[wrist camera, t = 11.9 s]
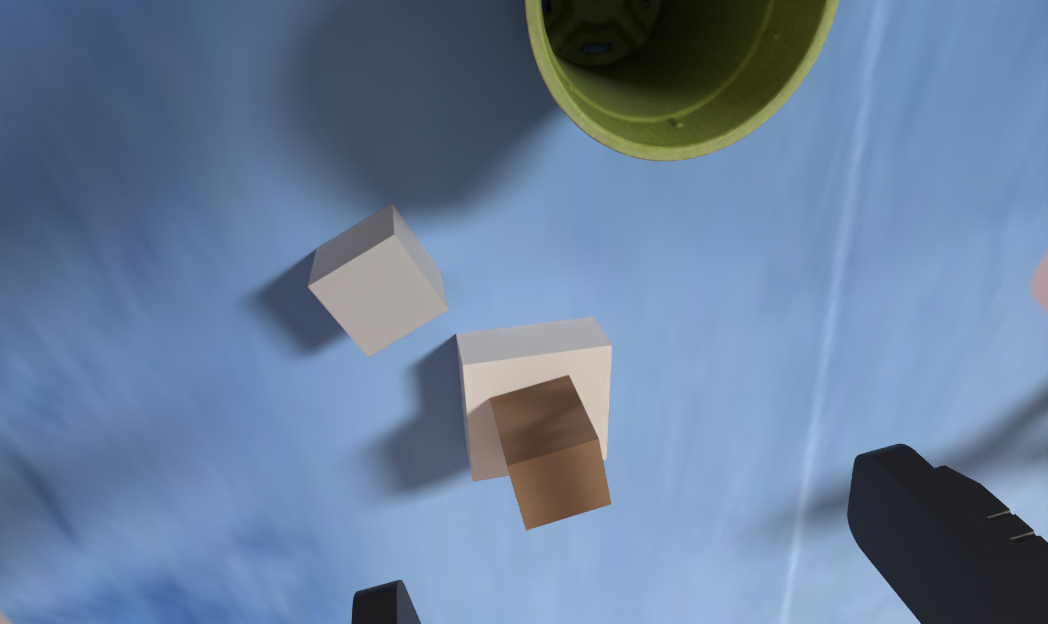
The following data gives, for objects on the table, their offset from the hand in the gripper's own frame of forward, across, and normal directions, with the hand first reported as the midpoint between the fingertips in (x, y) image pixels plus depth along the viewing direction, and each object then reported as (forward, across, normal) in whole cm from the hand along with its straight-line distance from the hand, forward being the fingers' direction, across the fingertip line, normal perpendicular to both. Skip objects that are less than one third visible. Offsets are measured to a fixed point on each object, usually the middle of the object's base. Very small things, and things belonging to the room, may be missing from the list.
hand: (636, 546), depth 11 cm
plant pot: (+27, -8, -7) cm, 29 cm away
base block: (+27, 0, +16) cm, 32 cm away
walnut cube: (+23, 0, +16) cm, 28 cm away
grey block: (+27, +6, +5) cm, 28 cm away
